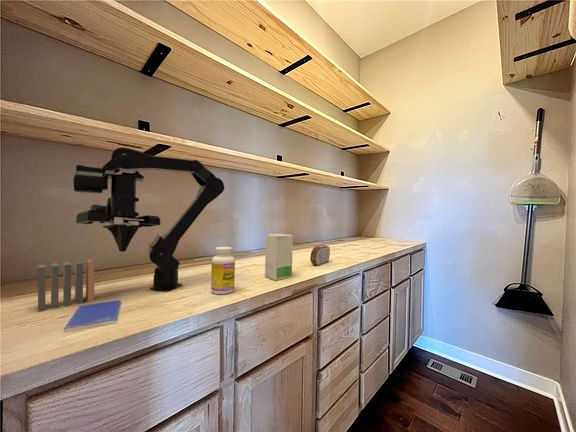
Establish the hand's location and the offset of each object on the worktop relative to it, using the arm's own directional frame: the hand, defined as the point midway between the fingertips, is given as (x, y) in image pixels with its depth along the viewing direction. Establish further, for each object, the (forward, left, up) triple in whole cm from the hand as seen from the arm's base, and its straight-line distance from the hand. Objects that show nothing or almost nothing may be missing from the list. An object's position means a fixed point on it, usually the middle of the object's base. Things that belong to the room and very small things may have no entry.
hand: (122, 251), depth 64 cm
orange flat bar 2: (+5, -8, -12) cm, 16 cm away
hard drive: (+11, +5, -13) cm, 18 cm away
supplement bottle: (-12, +23, -13) cm, 29 cm away
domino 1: (+11, -11, -12) cm, 20 cm away
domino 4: (+3, -7, -12) cm, 14 cm away
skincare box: (-32, +34, -13) cm, 49 cm away
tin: (-60, +46, -13) cm, 77 cm away
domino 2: (+9, -10, -12) cm, 18 cm away
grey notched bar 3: (+7, -9, -12) cm, 17 cm away
